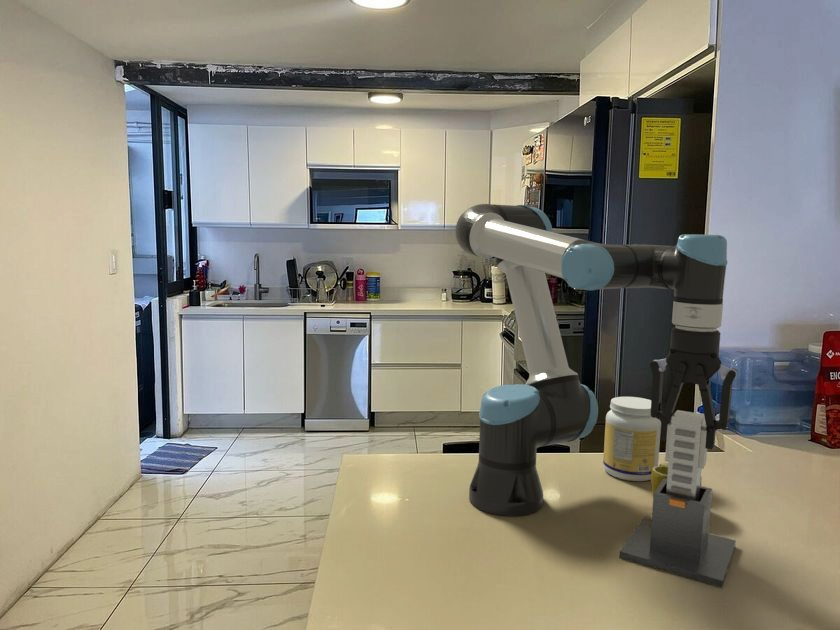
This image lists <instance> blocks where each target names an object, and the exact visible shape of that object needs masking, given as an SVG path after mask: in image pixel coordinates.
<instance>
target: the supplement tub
mask: <svg viewBox="0 0 840 630" xmlns="http://www.w3.org/2000/svg"><path fill="white" fill-rule="evenodd" d="M609 408H610V410H609V411H607V413H606V415H605V427H604V445H603V461H602V465H603V469H604V471H605V472H606V473H607V474H609V475H611V476H612V477H614V478H617V479H621V480H624V481H629V482H630V481H631V482H647V481H651V473H652V469H653V468H654V467H657V466H659V460H660V459H659V458H660V456H659V455H660V444H661V443H660V442H661V438H660V435H661V421H660V420H659V419H657V418H653V417H652V416H651V399H647V398H643V397H637V396H616V397H613V398H611V400H610V405H609Z"/></svg>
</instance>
